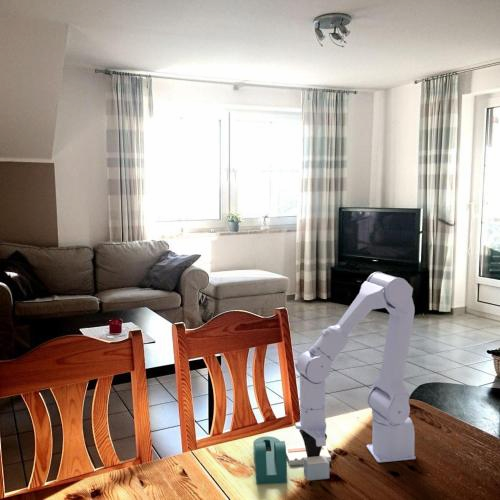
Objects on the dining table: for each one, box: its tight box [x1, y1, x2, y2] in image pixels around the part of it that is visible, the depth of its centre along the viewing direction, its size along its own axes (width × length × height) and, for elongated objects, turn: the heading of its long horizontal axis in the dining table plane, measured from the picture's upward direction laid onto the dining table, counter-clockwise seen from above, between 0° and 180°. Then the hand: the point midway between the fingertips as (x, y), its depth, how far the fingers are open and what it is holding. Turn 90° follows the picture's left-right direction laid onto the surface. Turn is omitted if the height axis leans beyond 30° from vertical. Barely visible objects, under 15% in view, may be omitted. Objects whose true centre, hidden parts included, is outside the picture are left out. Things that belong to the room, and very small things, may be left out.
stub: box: [303, 455, 330, 481], centre depth 122 cm, size 5×4×4 cm
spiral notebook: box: [286, 445, 332, 466], centre depth 131 cm, size 10×6×1 cm, turn 98°
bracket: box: [252, 435, 288, 485], centre depth 128 cm, size 18×7×8 cm, turn 2°
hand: (313, 460), depth 125 cm, fingers closed
